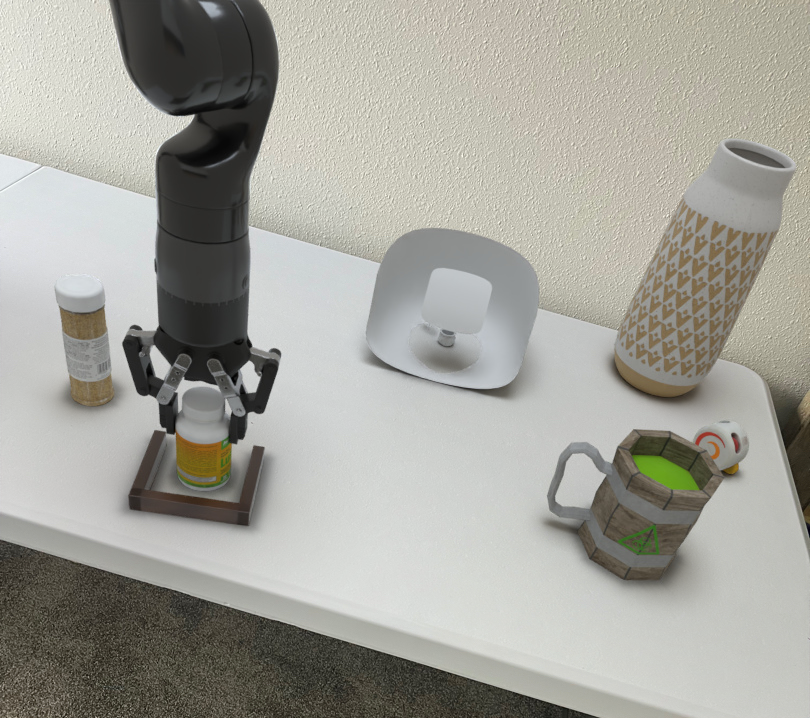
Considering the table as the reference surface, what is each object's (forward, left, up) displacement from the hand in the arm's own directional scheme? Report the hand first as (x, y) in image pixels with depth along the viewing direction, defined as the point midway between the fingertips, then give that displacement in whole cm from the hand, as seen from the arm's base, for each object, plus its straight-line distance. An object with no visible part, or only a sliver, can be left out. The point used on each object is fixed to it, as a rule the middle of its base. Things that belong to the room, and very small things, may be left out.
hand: (203, 433), depth 77 cm
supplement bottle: (0, 0, -6) cm, 6 cm away
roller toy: (+60, +16, -6) cm, 62 cm away
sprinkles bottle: (-14, +10, -6) cm, 18 cm away
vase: (+56, +34, -6) cm, 66 cm away
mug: (+43, -1, -6) cm, 43 cm away
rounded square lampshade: (+26, +33, -6) cm, 42 cm away
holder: (0, -1, -5) cm, 6 cm away
